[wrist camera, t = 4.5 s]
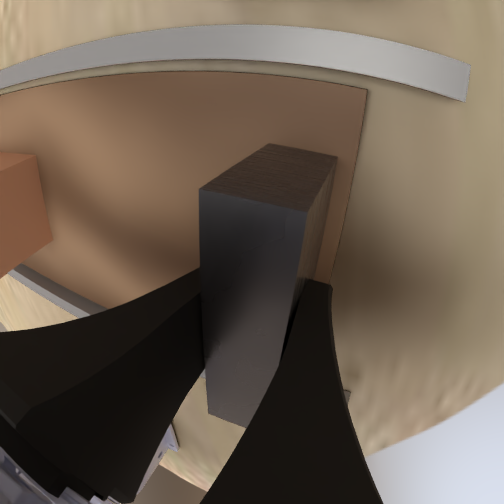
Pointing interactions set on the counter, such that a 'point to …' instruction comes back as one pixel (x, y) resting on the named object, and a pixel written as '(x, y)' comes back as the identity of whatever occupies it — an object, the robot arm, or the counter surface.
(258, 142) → the large flat tan board
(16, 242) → the cube
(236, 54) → the lane rails
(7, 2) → the counter surface
